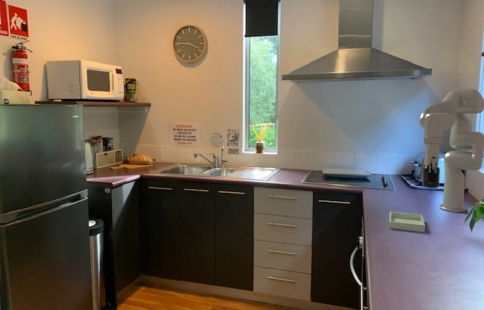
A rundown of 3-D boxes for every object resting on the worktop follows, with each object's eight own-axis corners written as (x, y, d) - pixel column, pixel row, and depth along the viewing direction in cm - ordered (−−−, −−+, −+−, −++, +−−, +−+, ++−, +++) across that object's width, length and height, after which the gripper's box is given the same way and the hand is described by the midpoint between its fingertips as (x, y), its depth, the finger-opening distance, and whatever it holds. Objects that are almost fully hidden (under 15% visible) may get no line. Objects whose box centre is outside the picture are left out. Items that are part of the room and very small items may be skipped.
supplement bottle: (423, 184, 171) (425, 159, 170) (440, 186, 167) (441, 160, 165) (420, 186, 166) (422, 160, 164) (437, 188, 161) (439, 162, 160)
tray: (389, 217, 182) (389, 211, 182) (421, 220, 176) (422, 214, 176) (388, 228, 166) (389, 221, 165) (424, 232, 160) (424, 225, 160)
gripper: (422, 139, 173) (419, 176, 175) (425, 142, 157) (423, 182, 159) (439, 139, 170) (437, 177, 173) (445, 142, 154) (442, 184, 156)
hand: (430, 179), depth 166 cm, fingers closed on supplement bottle, 6 cm apart
